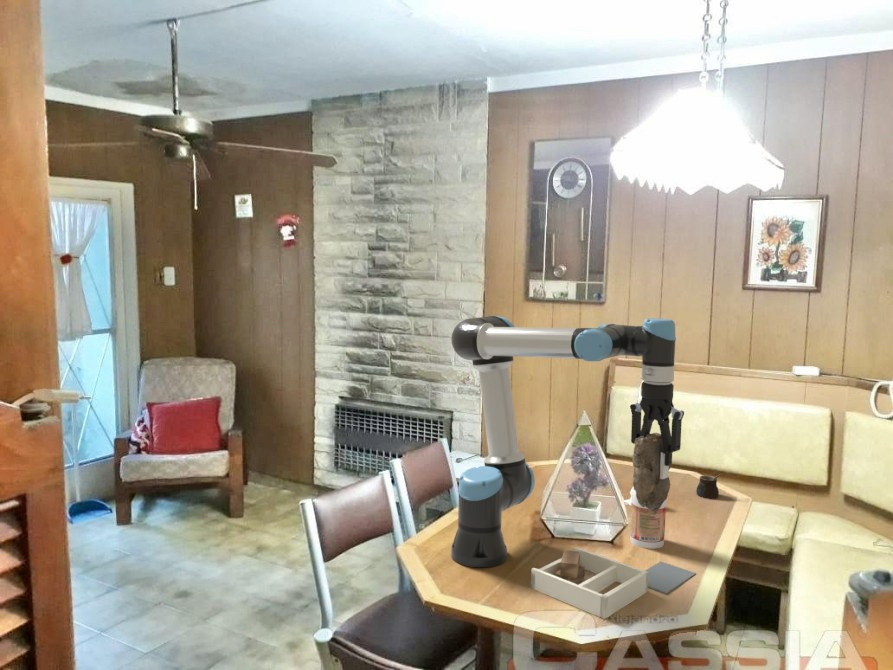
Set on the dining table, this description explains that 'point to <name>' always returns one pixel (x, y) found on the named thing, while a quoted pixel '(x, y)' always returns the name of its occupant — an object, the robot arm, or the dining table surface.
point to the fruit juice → (647, 525)
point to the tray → (593, 584)
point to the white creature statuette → (629, 499)
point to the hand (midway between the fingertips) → (654, 475)
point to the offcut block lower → (573, 580)
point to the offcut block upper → (570, 564)
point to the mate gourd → (708, 487)
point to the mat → (666, 577)
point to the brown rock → (649, 472)
